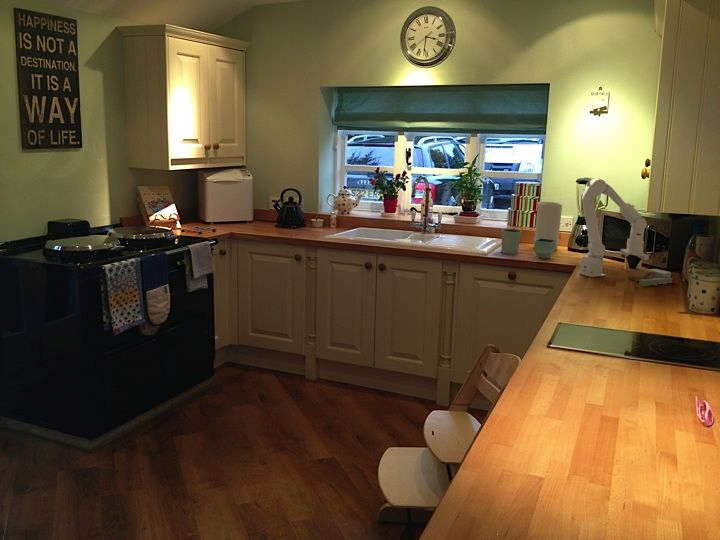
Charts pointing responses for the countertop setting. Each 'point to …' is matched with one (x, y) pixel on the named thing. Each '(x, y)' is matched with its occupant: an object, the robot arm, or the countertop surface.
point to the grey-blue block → (660, 273)
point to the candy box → (636, 255)
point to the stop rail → (655, 281)
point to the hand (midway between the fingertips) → (631, 271)
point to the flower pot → (544, 247)
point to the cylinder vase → (548, 221)
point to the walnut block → (639, 274)
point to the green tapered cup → (510, 241)
